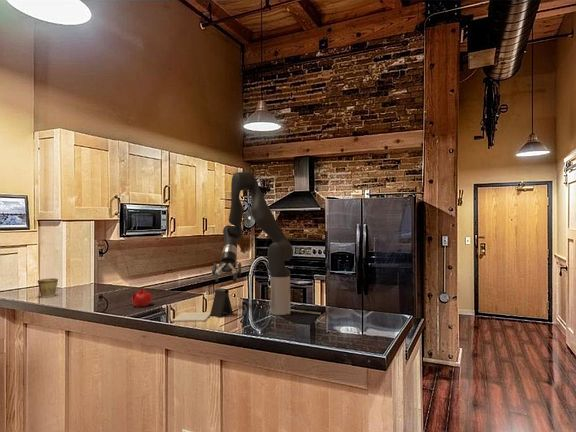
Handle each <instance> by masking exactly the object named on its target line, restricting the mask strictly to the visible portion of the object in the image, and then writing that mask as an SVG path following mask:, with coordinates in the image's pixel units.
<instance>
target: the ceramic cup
mask: <svg viewBox="0 0 576 432" xmlns="http://www.w3.org/2000/svg"><path fill="white" fill-rule="evenodd" d="M58 282H59V281H58V278H51V277H50V278H41V279H38V280H37V284H38V285H37V286H38V289H39V293H40V298H41V299H48V298H53V297H55V296H56V291H57V286H58Z"/></svg>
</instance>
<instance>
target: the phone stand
mask: <svg viewBox="0 0 576 432" xmlns="http://www.w3.org/2000/svg"><path fill="white" fill-rule="evenodd" d="M229 295H230V294H229V289H228V288H218V287H217V288H215V290H214V296H213V297H214V298H213V300H212V301H213V302H212V305H211V310H210V312H211V313H210V316H209V317H214V316H215V317H216V318H220V317H221V318H223V316H224V317H226V316H229V315H233V313H234V311H233V306H232V302H231V300H230V296H229Z"/></svg>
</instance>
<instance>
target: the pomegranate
mask: <svg viewBox="0 0 576 432" xmlns="http://www.w3.org/2000/svg"><path fill="white" fill-rule="evenodd" d="M133 293H135V294H133V295H132V297H131V303H132V305H133V306H134V307H137V308H144V307H147V306H150V304H151V303H152V302H153V301H152V300H153V295H152V293H150V292H149V290H148V289H144V287H141V288H140V290H138V291H136V290H135V291H134V292H133Z"/></svg>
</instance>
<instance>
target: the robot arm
mask: <svg viewBox="0 0 576 432" xmlns="http://www.w3.org/2000/svg"><path fill="white" fill-rule="evenodd" d="M231 177H232V178H231V182H230V183H231V185H230V186H231V187H230V188H231V189H230V190H231V192H230V198H231V199H230V209H229V216H228V222H229V224H227V225H225V226H224V227H223V230H222V233H223V238H224V239H223V240H224V243H223V249H222V253H221V259H220V262H219V263H216V262H214V263H213V266H212V269H211V274H212V276H214V282H215V283H218V282H219V281H218V280H219V276H220V275H221V274H223V273H232V274H233V277H232V282H233V283H235V282H237V280H238V276H241V275H242V262H239V263H236V262H237V256H238V244H239V242H238V240H240V239H241V238H242V237H243V233H244V232H243V225H242V223H243V222H242V221H243V217H244V216H243V215H244V206H243V203H242V202H241V198H240V194H241V192H242V191H245V190H246V191H247V190H248V192H249V193H250V196H251V206H250V213H251V215H252V218H253V220H254V222H255V223H256V225H257V226H258V227H259V229H261V230H262V231H263V232H264V233H265V234H266V235H267V236H268V237H269V238H270V239H271V241H272V243H270V244H269V246H268V249H267V262H268V271H269V273H270V280H269V281H270V314H272V315H275V316H285V315H291V270H290V268H289V269H288V268H287V267H286V265H285V262H286V261H290V260H291V259H292V258H293V257H294V249H293V246H292V244H291V242H290V241H289V239H288V238H287V237H286V235H285V234H284V232H283V230H282V229H281V227H280V225H279V224H278V222H277V220H276V217H275V216H274V214H273V212H272V210H271V208H270V207H269V205H268V203H267V201H266V199H265V197H264V195H263V193H262V191H261V189H260V186H259V184H258V182H257V178H256V176H255V175H254V173H253V172H251V171H239V172H235V173H233V175H232V176H231ZM236 269H238V270H236Z"/></svg>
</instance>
